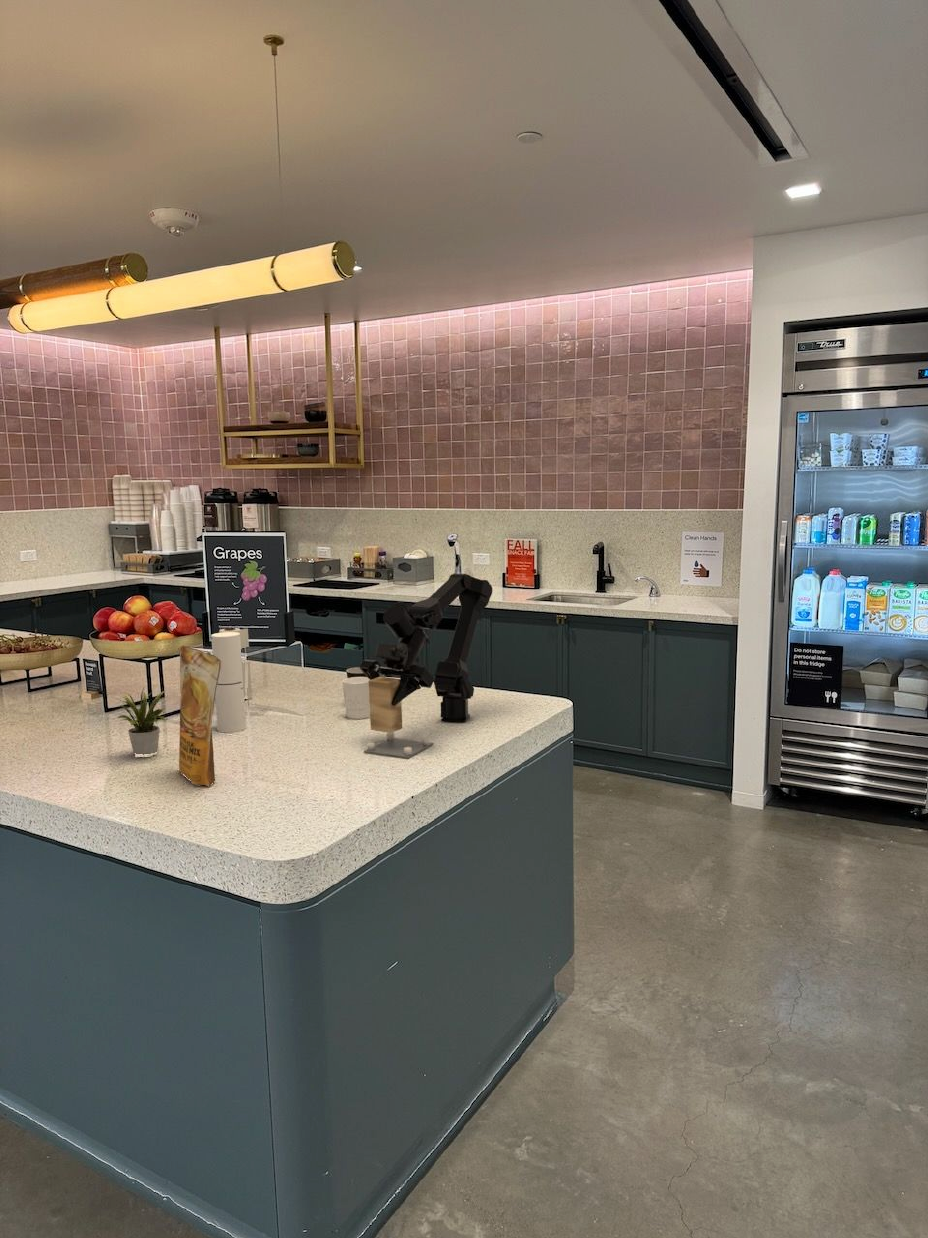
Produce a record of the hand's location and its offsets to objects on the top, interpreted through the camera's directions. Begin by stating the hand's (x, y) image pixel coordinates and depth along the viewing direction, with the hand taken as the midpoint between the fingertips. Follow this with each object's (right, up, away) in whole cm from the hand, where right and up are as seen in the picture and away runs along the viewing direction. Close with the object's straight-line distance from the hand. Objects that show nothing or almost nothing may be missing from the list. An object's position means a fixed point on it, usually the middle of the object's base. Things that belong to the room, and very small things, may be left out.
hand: (382, 703), depth 212 cm
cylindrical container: (-41, -9, +23) cm, 48 cm away
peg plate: (+4, -11, +2) cm, 12 cm away
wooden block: (+1, -6, +2) cm, 7 cm away
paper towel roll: (-48, -4, +54) cm, 72 cm away
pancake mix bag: (-38, -15, -15) cm, 44 cm away
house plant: (-57, -13, +1) cm, 59 cm away
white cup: (-9, -7, +33) cm, 35 cm away
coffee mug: (-9, -4, +47) cm, 48 cm away
